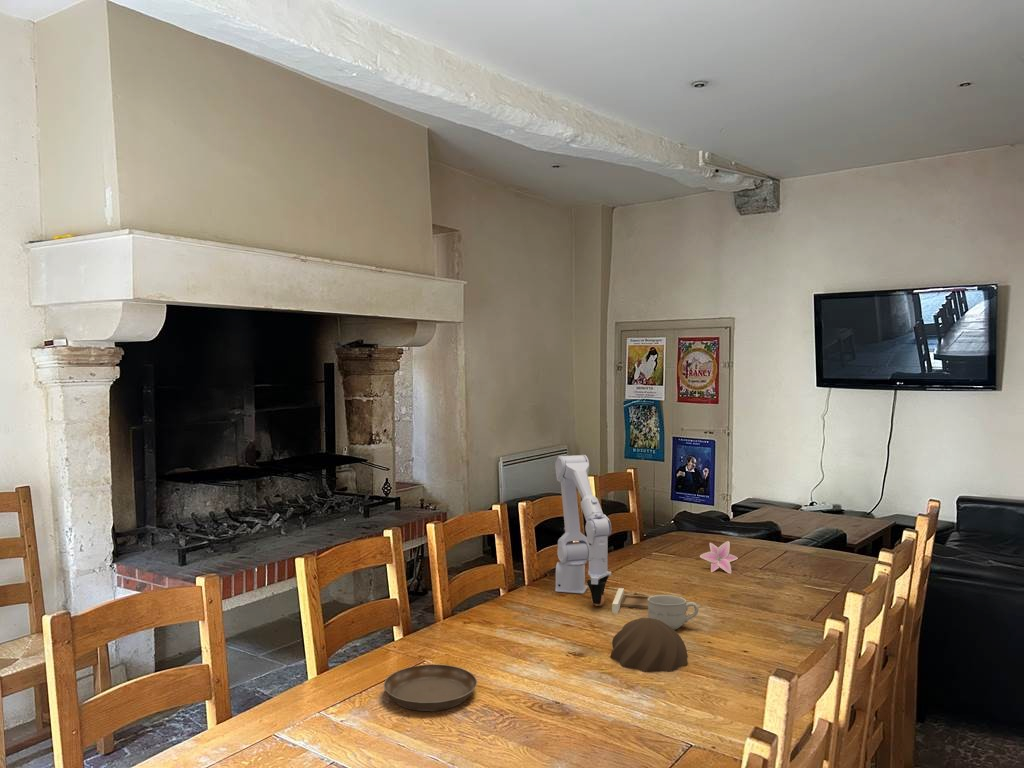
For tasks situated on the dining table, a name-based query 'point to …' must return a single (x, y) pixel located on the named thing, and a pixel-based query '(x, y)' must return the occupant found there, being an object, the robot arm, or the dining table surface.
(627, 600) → the tray
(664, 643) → the decorative dome
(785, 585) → the dining table surface
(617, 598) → the strip
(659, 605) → the teacup
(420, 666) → the plant saucer
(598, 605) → the ball
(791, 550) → the dining table surface
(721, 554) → the lily
